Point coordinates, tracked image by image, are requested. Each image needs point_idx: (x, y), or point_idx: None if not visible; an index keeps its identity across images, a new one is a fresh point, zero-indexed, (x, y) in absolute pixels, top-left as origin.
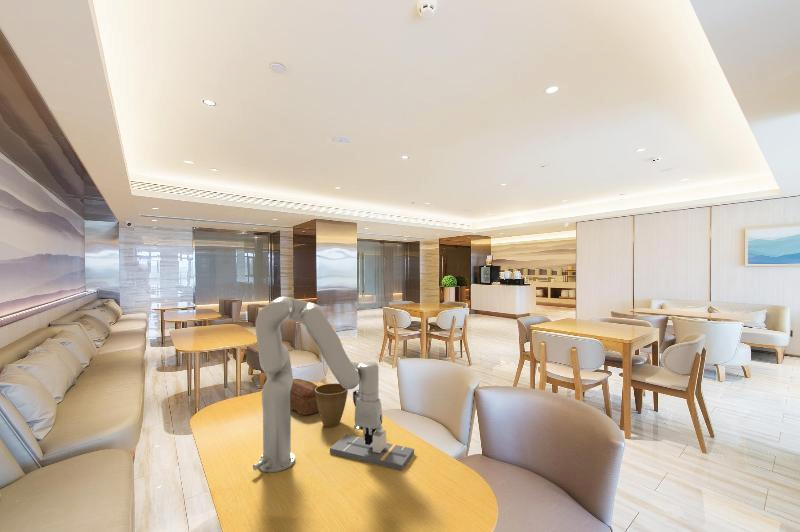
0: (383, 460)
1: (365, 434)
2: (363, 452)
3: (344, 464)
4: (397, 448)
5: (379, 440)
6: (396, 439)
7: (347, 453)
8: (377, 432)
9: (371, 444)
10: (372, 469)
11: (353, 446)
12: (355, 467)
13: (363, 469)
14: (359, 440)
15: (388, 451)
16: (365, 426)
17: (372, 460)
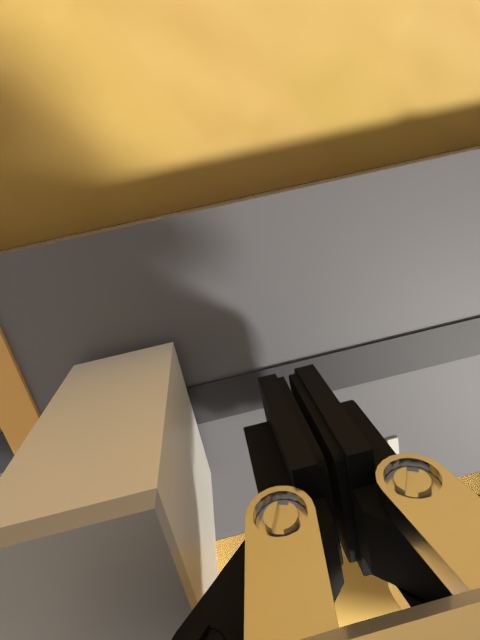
0: None
1: (366, 451)
2: (266, 273)
3: (353, 21)
4: None
5: (13, 473)
6: None
7: (432, 159)
8: (131, 618)
9: None
10: (9, 137)
11: (446, 303)
12: (202, 48)
13: (93, 70)
14: (453, 426)
15: None
16: (465, 634)
17: (88, 234)
